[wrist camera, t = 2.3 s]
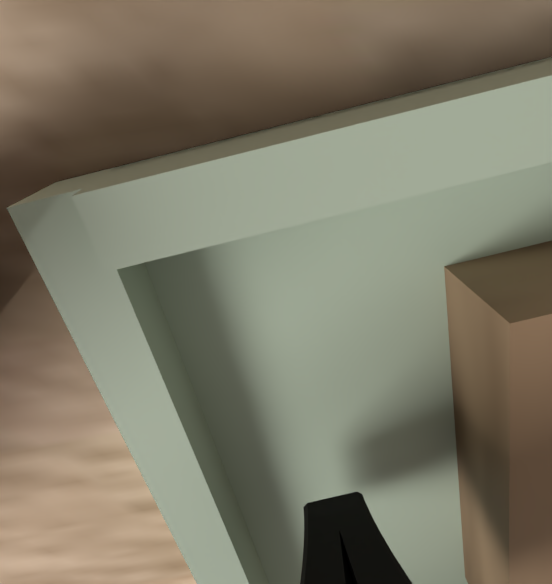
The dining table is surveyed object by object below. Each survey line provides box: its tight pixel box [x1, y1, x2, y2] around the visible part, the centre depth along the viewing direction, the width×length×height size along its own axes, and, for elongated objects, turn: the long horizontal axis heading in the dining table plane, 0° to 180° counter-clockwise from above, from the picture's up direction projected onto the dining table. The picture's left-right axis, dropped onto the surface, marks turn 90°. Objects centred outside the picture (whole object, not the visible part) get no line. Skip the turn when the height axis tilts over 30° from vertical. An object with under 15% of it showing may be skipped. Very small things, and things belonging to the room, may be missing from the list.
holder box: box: [7, 57, 552, 584], centre depth 11 cm, size 15×18×2 cm
